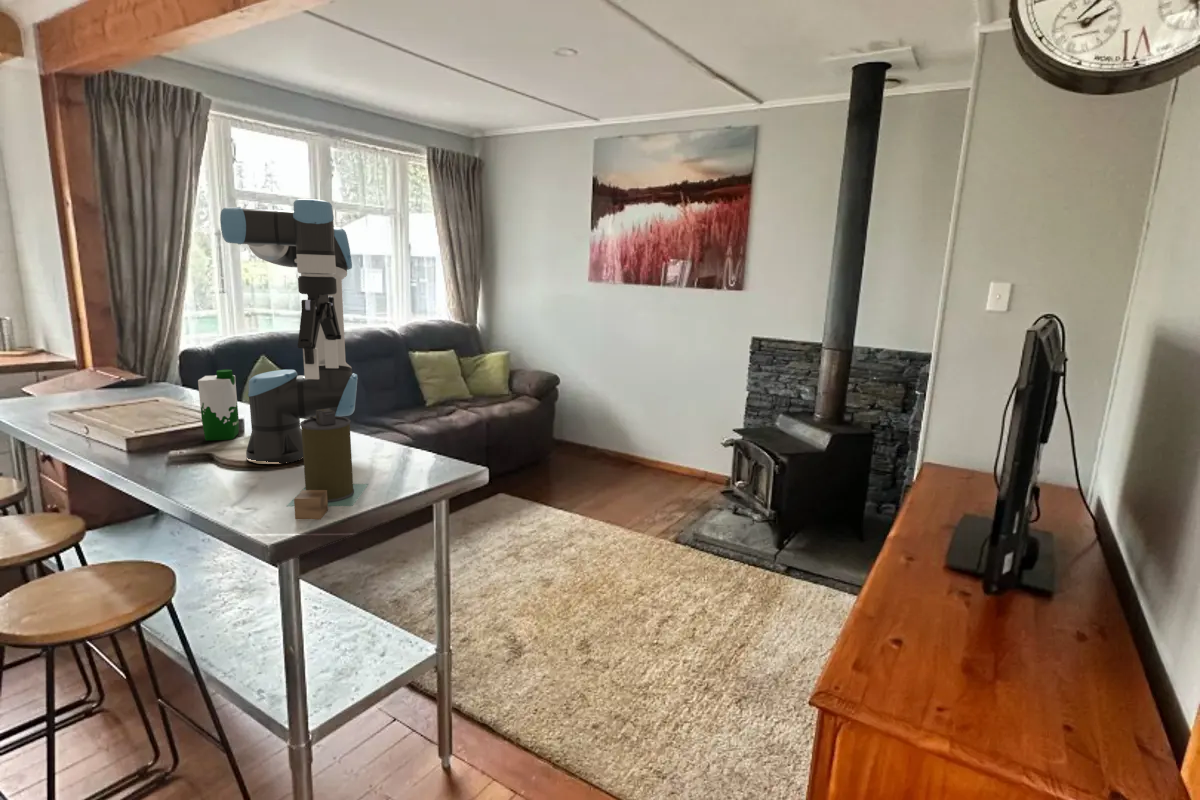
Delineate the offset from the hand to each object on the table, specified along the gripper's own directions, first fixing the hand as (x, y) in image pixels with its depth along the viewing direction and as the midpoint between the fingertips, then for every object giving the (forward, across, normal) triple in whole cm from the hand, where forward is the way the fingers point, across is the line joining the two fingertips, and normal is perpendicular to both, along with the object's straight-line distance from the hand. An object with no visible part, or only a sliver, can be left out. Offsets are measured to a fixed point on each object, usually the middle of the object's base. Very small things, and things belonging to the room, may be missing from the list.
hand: (322, 373), depth 138 cm
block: (+29, +12, 0) cm, 31 cm away
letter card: (+29, 0, 0) cm, 29 cm away
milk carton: (+29, -48, -45) cm, 72 cm away
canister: (+28, 0, 0) cm, 28 cm away
